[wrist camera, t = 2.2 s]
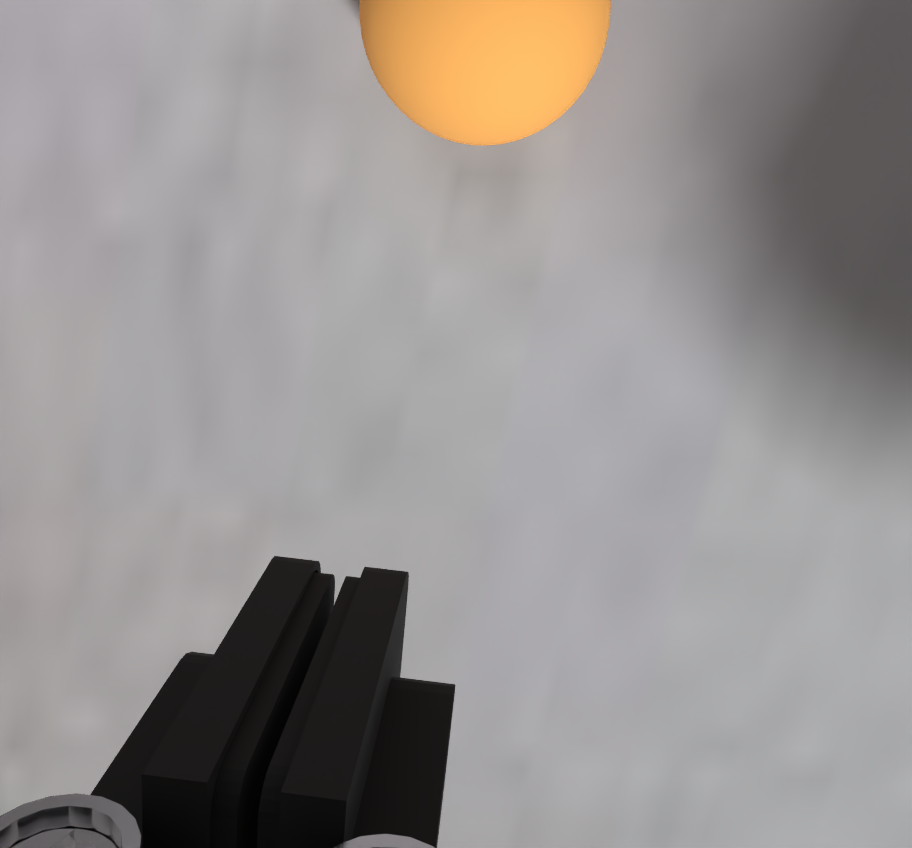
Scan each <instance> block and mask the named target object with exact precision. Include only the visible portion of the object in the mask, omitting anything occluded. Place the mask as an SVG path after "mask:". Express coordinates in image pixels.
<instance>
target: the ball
mask: <svg viewBox="0 0 912 848" xmlns="http://www.w3.org/2000/svg"><path fill="white" fill-rule="evenodd" d="M610 9H611V0H360V26H361V34H362V39H363V43H364V47H365V51H366V55H367V57H368V60H369V63H370V65H371V68H372V70H373V72H374V74H375V76H376V78H377V80H378V82H379V84H380V85H381V87H382V88H383V89H384V91H385V92H386V94H387V95H388V97H389V98H390V99H391V100H392V101H393V103H394V104H395V105H396V106H397V107H398V108H399V109H400V110H401V111H402V112H403V113H404V114H405V115H406V116H407V117H408V118H410V119H411V120H412V121H413V122H414V123H416V124H417V125H419V126H421V127H422V128H424V129H425V130H427V131H429V132H431V133H433V134H435V135H437V136H439V137H441V138H444V139H447V140H450V141H454V142H457V143H463V144H469V145H497V144H504V143H508V142H512V141H516V140H520V139H522V138H525V137H527V136H530V135H532V134H534V133H536V132H538V131H540V130H542V129H543V128H545V127H547V126H548V125H550V124H551V123H552V122H554V121H555V120H556V119H558V118H559V117H560V116H562V115H563V114H564V113H565V112H566V111H567V110H568V109H569V108H570V107H571V106H572V105H573V104H574V102H575V101H576V100H577V99H578V98H579V96H580V95H581V94H582V93H583V91H584V90H585V88H586V86H587V85H588V83H589V82H590V80H591V78H592V77H593V75H594V73H595V70H596V68H597V66H598V64H599V62H600V59H601V56H602V53H603V50H604V47H605V44H606V39H607V34H608V28H609V22H610Z"/></svg>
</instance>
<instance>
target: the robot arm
mask: <svg viewBox="0 0 912 848" xmlns="http://www.w3.org/2000/svg"><path fill="white" fill-rule="evenodd" d="M408 578H409V575H408V572H404V571H396V570H387V569H379V568H370V567H365V568H364V570H363V572H362V575H361V577H360V578H357V577H349V576H346V578H345V580H344V582H343V585H342V587H341V590H340V592H339V595H338V597H337V600H336V602H335V604H334V591H335V577H334V575H332V574H324V573H321V569H320V563H319V561H312V560H303V559H295V558H287V557H278V556H274V557H273V559H272V560H271V562H270V563H269V565H268V566H267V568H266V570H265V571H264V573H263V575H262V576H261V578H260V580H259V581H258V583H257V585H256V586H255V588H254V590H253V591H252V593H251V594H250V596H249V598H248V599H247V601H246V603H245V604H244V606H243V608H242V609H241V611H240V613H239V614H238V616H237V618H236V619H235V621H234V623H233V624H232V626H231V627H230V629H229V631H228V632H227V634H226V636H225V637H224V639H223V641H222V642H221V644H220V646H219V647H218V649H217V651H216V652H215V654H214V655H213V654H205V653H197V652H190V653H186V654H185V655H184V657H183V658H182V659H181V660H180V661H179V663H178V664H177V666H176V667H175V669H174V670H173V672H172V673H171V675H170V676H169V678H168V679H167V681H166V682H165V684H164V685H163V687H162V688H161V690H160V691H159V693H158V694H157V696H156V697H155V699H154V700H153V702H152V703H151V705H150V706H149V708H148V709H147V711H146V712H145V714H144V715H143V717H142V718H141V720H140V721H139V723H138V724H137V726H136V727H135V729H134V730H133V732H132V733H131V735H130V736H129V738H128V739H127V741H126V742H125V744H124V745H123V747H122V748H121V750H120V751H119V753H118V754H117V756H116V757H115V759H114V760H113V762H112V763H111V765H110V766H109V768H108V769H107V771H106V772H105V774H104V775H103V777H102V778H101V780H100V781H99V783H98V784H97V786H96V787H95V789H94V790H93V792H92V793H91V795H85V794H68V795H57V796H49V797H46V798H43V799H39V800H36V801H32V802H29V803H25V804H23V805H21V806H19V807H17V808H15V809H13V810H11V811H9V812H7V813H5V814H3V815H1V816H0V848H437V842H438V834H439V825H440V817H441V808H442V800H443V791H444V782H445V773H446V765H447V756H448V747H449V738H450V729H451V720H452V711H453V702H454V693H455V684H447V683H439V682H431V681H423V680H414V679H406V678H400V672H401V661H402V649H403V638H404V627H405V616H406V604H407V593H408Z"/></svg>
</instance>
